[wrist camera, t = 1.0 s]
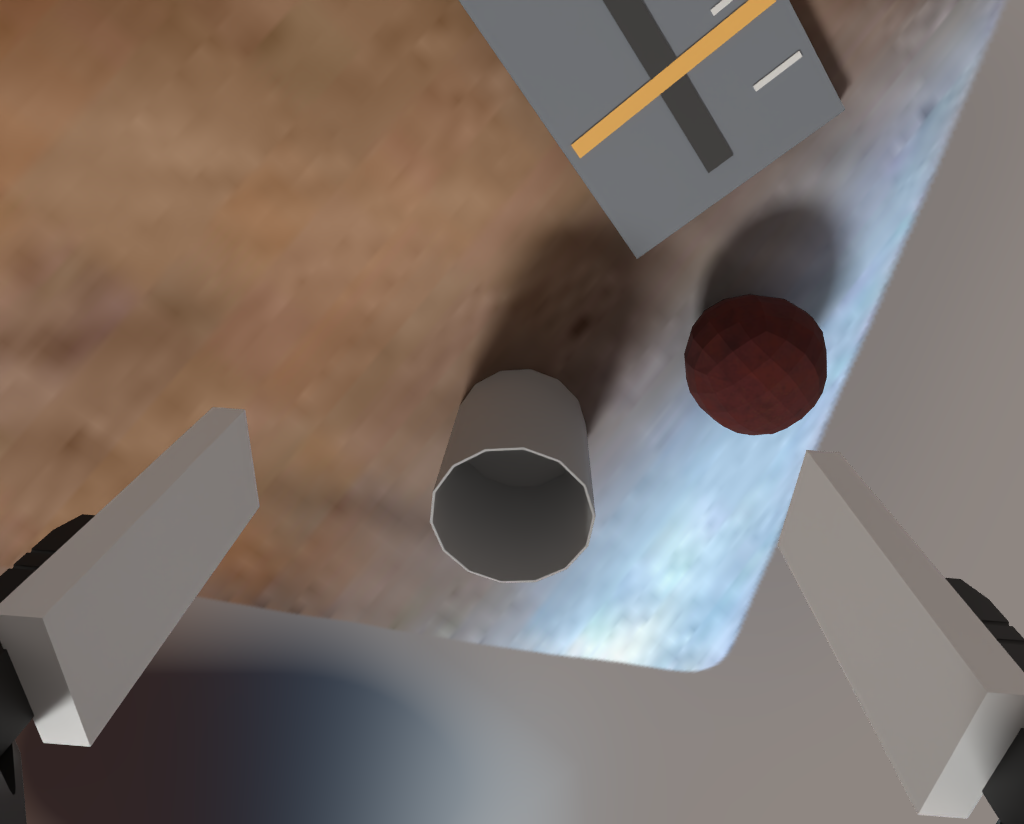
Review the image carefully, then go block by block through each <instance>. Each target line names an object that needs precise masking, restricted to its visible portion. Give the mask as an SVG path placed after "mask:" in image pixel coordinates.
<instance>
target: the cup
mask: <svg viewBox="0 0 1024 824" xmlns="http://www.w3.org/2000/svg"><path fill="white" fill-rule="evenodd" d="M594 520H595V507H594V498H593V488H592V478H591V469H590V459H589V450H588V440H587V431H586V424H585V421H584V417H583V414H582V411H581V407H580V404H579V401H578V399H577V398H576V397H575V396H574V395H573V394H572V393H571V392H570V391H569V390H568V389H567V388H566V387H565V386H564V385H563V384H562V383H561V382H560V381H559V380H558V379H555V378H553V377H550V376H547V375H545V374H542V373H539V372H537V371H534V370H532V369H524V370H507V371H499V372H497V373H496V374H494V375H492V376H490V377H488V378H486V379H484V380H482V381H480V382H479V383H477V384H475V385H474V387H473V388H472V389H471V391H470V392H469V394H468V395H467V397H466V398H465V399H464V401H463V402H462V404H461V405H460V407H459V410H458V413H457V416H456V420H455V423H454V426H453V429H452V432H451V436H450V439H449V442H448V445H447V448H446V452H445V455H444V458H443V461H442V464H441V468H440V471H439V474H438V477H437V481H436V484H435V487H434V490H433V497H432V507H431V517H430V523H431V525H432V528H433V530H434V532H435V534H436V537H437V539H438V541H439V543H440V546H441V548H442V550H443V551H444V552H445V553H446V554H447V555H449V556H450V557H451V558H452V559H453V560H455V561H456V562H457V563H458V564H459V565H460V566H462V567H463V568H464V569H465V570H466V571H468V572H470V573H473V574H476V575H479V576H482V577H485V578H488V579H491V580H494V581H497V582H499V583H518V582H537V581H539V580H542V579H544V578H547V577H549V576H551V575H554V574H556V573H559V572H561V571H563V570H566V569H567V568H568V567H569V566H570V565H571V564H572V563H573V562H574V561H575V560H576V559H577V557H578V556H579V555H580V554H581V553H582V552H583V551H584V550H585V549H586V548H587V547H588V545H589V541H590V536H591V532H592V528H593V524H594Z"/></svg>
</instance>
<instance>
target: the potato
mask: <svg viewBox="0 0 1024 824" xmlns="http://www.w3.org/2000/svg"><path fill="white" fill-rule="evenodd" d="M684 356H685V368H686V379H687V383H688V387H689V390H690V393H691V394H692V396H693V397H694V399H695V400H696V402H697V403H698V405H699V406H700V407H701V408H702V409H703V410H704V411H705V412H706V413H707V414H708V415H710V416H711V417H712V418H713V419H714V420H715V421H717V422H718V423H719V424H721V425H722V426H724V427H726V428H728V429H730V430H732V431H734V432H737V433H741V434H748V435H761V434H773V433H776V432H778V431H781V430H784V429H786V428H788V427H789V426H791V425H792V424H794V423H795V422H797V421H799V420H800V419H802V418H803V417H804V416H805V415H806V414H807V413H808V412H809V411H810V410H811V409H812V408H813V407H814V406H815V404H816V403H817V401H818V399H819V398H820V396H821V394H822V393H823V389H824V386H825V382H826V378H827V355H826V347H825V342H824V337H823V332H822V330H821V329H820V328H819V326H818V325H817V323H816V322H815V320H814V319H813V318H812V317H811V316H810V315H809V314H808V313H807V312H806V311H804V310H802V309H800V308H799V307H797V306H795V305H794V304H792V303H790V302H789V301H787V300H785V299H780V298H773V297H765V296H758V295H751V294H748V295H743V296H738V297H733V298H728V299H724V300H722V301H720V302H719V303H717V304H715V305H713V306H712V307H710V308H708V309H707V310H705V311H704V312H703V313H702V315H701V316H700V317H699V319H698V320H697V321H696V323H695V324H694V325H693V327H692V330H691V333H690V336H689V340H688V343H687V347H686V350H685V353H684Z"/></svg>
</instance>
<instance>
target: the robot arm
mask: <svg viewBox="0 0 1024 824" xmlns="http://www.w3.org/2000/svg"><path fill="white" fill-rule="evenodd" d="M258 508H259V500H258V493H257V486H256V480H255V473H254V466H253V459H252V453H251V446H250V439H249V433H248V426H247V419H246V413H245V410H244V409H231V408H217V407H212V408H211V409H210V410H209V411H208V412H207V413H206V414H205V415H204V416H203V417H202V418H201V419H199V420H198V421H197V422H196V423H195V424H194V425H193V426H192V427H191V428H190V429H189V430H188V431H186V432H185V433H184V434H183V435H182V436H181V437H180V438H179V439H178V440H177V441H176V442H175V443H173V444H172V445H171V446H170V447H169V448H168V449H167V450H166V451H165V452H164V453H163V454H162V455H160V456H159V457H158V458H157V459H156V460H155V461H154V462H153V463H152V464H151V465H150V466H149V467H147V468H146V469H145V470H144V471H143V472H142V473H141V474H140V475H139V476H138V477H137V478H135V479H134V480H133V481H132V482H131V483H130V484H129V485H128V486H127V487H126V488H125V489H124V490H122V491H121V492H120V493H119V494H118V495H117V496H116V497H115V498H114V499H113V500H112V501H111V502H109V503H108V504H107V505H106V506H105V507H104V508H103V509H102V510H101V511H100V512H99V513H98V514H96V515H83V514H82V515H80V516H79V517H77V518H75V519H73V520H71V521H69V522H67V523H65V524H63V525H62V526H60V527H58V528H56V529H54V530H53V531H51V532H50V533H49V534H48V535H47V536H46V537H45V538H43V539H42V540H41V541H40V542H39V543H38V544H37V545H35V546H34V547H33V548H32V551H31V553H26V554H25V555H24V556H23V557H22V558H20V559H19V560H18V561H17V562H16V563H15V564H14V567H13V569H8V570H7V571H6V572H5V573H3V574H2V575H1V576H0V824H27V823H26V811H25V799H24V787H23V777H22V764H21V753H20V751H19V749H18V746H17V744H16V742H15V739H16V737H17V736H18V735H19V734H20V733H21V731H22V730H23V729H24V728H25V727H26V725H27V724H28V723H29V722H30V721H31V719H32V718H33V720H34V722H35V725H36V727H37V729H38V732H39V734H40V736H41V739H42V741H43V743H53V744H65V745H77V746H89V747H90V746H91V745H92V744H93V742H94V741H95V739H96V738H97V736H98V735H99V733H100V732H101V731H102V729H103V728H104V726H105V725H106V724H107V722H108V721H109V719H110V718H111V717H112V715H113V714H114V712H115V711H116V709H117V708H118V706H119V705H120V704H121V702H122V701H123V700H124V698H125V696H126V695H127V694H128V692H129V691H130V690H131V688H132V687H133V685H134V684H135V682H136V681H137V680H138V678H139V677H140V675H141V674H142V672H143V671H144V670H145V668H146V667H147V665H148V664H149V663H150V661H151V660H152V658H153V657H154V656H155V654H156V653H157V651H158V650H159V648H160V647H161V645H162V644H163V643H164V641H165V640H166V638H167V637H168V636H169V634H170V632H171V631H172V630H173V628H174V627H175V626H176V624H177V623H178V621H179V620H180V619H181V617H182V616H183V614H184V613H185V611H186V610H187V609H188V607H189V606H190V604H191V603H192V602H193V600H194V599H195V597H196V596H197V594H198V593H199V592H200V590H201V589H202V587H203V586H204V585H205V583H206V582H207V580H208V579H209V577H210V576H211V575H212V573H213V572H214V570H215V569H216V567H217V566H218V565H219V563H220V562H221V560H222V559H223V558H224V556H225V555H226V553H227V552H228V550H229V549H230V548H231V546H232V545H233V543H234V542H235V541H236V539H237V538H238V536H239V535H240V533H241V532H242V531H243V529H244V528H245V526H246V525H247V523H248V522H249V521H250V519H251V518H252V516H253V515H254V514H255V512H256V511H257V509H258ZM778 547H779V549H780V551H781V553H782V555H783V557H784V559H785V561H786V562H787V565H788V566H789V568H790V570H791V572H792V574H793V576H794V578H795V580H796V582H797V584H798V586H799V588H800V589H801V591H802V593H803V595H804V597H805V599H806V601H807V603H808V605H809V607H810V609H811V611H812V612H813V614H814V616H815V618H816V620H817V622H818V624H819V626H820V628H821V630H822V632H823V634H824V635H825V637H826V639H827V641H828V643H829V645H830V647H831V649H832V651H833V653H834V655H835V657H836V659H837V660H838V662H839V664H840V666H841V668H842V670H843V672H844V674H845V676H846V678H847V680H848V682H849V683H850V685H851V687H852V689H853V691H854V693H855V695H856V697H857V699H858V701H859V703H860V705H861V707H862V708H863V710H864V712H865V714H866V716H867V718H868V720H869V722H870V724H871V726H872V728H873V730H874V731H875V733H876V735H877V737H878V739H879V741H880V743H881V745H882V746H883V749H884V751H885V752H886V754H887V756H888V758H889V760H890V762H891V764H892V766H893V768H894V770H895V772H896V773H897V776H898V777H899V779H900V781H901V783H902V785H903V787H904V789H905V791H906V793H907V794H908V797H909V799H910V800H911V802H912V804H913V806H914V808H915V810H916V812H917V814H918V815H928V816H940V817H953V818H965V819H967V818H968V817H969V815H970V814H971V812H972V811H973V809H974V807H975V806H976V804H977V803H978V801H979V800H980V798H981V796H982V795H983V794H984V796H985V797H986V799H987V800H988V802H989V804H990V805H991V807H992V808H993V810H994V811H995V813H996V815H997V816H998V818H999V820H998V821H997V823H996V824H1024V638H1023V637H1022V636H1021V635H1020V634H1019V633H1018V632H1017V631H1016V630H1015V628H1014V627H1013V626H1009V622H1008V620H1007V619H1006V618H1005V617H1004V616H1003V615H1002V614H1001V613H1000V611H999V610H998V609H997V608H996V607H995V606H994V605H993V604H992V602H991V601H990V600H989V599H988V598H986V597H985V596H983V595H982V594H981V593H979V592H978V591H976V590H975V589H973V588H972V587H971V586H969V585H968V584H967V583H965V582H964V581H962V580H961V579H952V578H944V576H943V575H942V574H941V573H940V572H939V570H938V569H937V568H936V567H935V566H934V565H933V563H932V562H931V561H930V560H929V558H928V557H927V556H926V555H925V554H924V552H923V551H922V550H921V549H920V548H919V546H918V545H917V544H916V543H915V542H914V540H913V539H912V538H911V537H910V536H909V535H908V533H907V532H906V531H905V530H904V529H903V527H902V526H901V525H900V524H899V523H898V521H897V520H896V519H895V518H894V517H893V515H892V514H891V513H890V512H889V511H888V509H887V508H886V507H885V506H884V505H883V504H882V503H881V501H880V500H879V499H878V497H877V496H876V495H875V494H874V493H873V492H872V490H871V489H870V488H869V487H868V486H867V484H866V483H865V482H864V481H863V479H862V478H861V477H860V476H859V475H858V474H857V472H856V471H855V470H854V469H853V468H852V467H851V465H850V464H849V463H848V462H847V461H846V459H845V458H844V457H843V456H842V455H841V453H839V452H826V451H812V450H806V454H805V457H804V460H803V464H802V467H801V470H800V473H799V477H798V480H797V483H796V486H795V490H794V493H793V496H792V499H791V503H790V506H789V509H788V512H787V516H786V519H785V522H784V525H783V529H782V532H781V535H780V538H779V542H778Z"/></svg>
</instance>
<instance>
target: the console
mask: <svg viewBox="0 0 1024 824" xmlns="http://www.w3.org/2000/svg"><path fill="white" fill-rule="evenodd" d="M459 1H460V3H461V4H462V6H463V7H464V9H465V10H466V11H467V13H468V14H469V16H470V17H471V19H472V20H473V22H474V23H475V25H476V26H477V27H478V29H479V30H480V32H481V33H482V35H483V36H484V38H485V39H486V40H487V42H488V43H489V45H490V46H491V48H492V49H493V51H494V52H495V54H496V55H497V56H498V58H499V59H500V61H501V62H502V64H503V65H504V67H505V68H506V70H507V71H508V72H509V74H510V75H511V77H512V78H513V80H514V81H515V83H516V84H517V85H518V87H519V88H520V90H521V91H522V93H523V94H524V96H525V97H526V99H527V100H528V101H529V103H530V104H531V106H532V107H533V109H534V110H535V112H536V113H537V114H538V116H539V117H540V119H541V120H542V122H543V123H544V125H545V126H546V128H547V129H548V130H549V132H550V133H551V135H552V136H553V138H554V139H555V141H556V142H557V144H558V145H559V146H560V148H561V149H562V151H563V152H564V154H565V155H566V157H567V158H568V159H569V161H570V162H571V164H572V165H573V167H574V168H575V170H576V171H577V173H578V174H579V175H580V177H581V178H582V180H583V181H584V183H585V184H586V186H587V187H588V188H589V190H590V191H591V193H592V194H593V196H594V197H595V199H596V200H597V202H598V203H599V204H600V206H601V207H602V209H603V210H604V212H605V213H606V215H607V216H608V217H609V219H610V220H611V222H612V223H613V225H614V226H615V228H616V229H617V231H618V232H619V233H620V235H621V236H622V238H623V239H624V241H625V242H626V244H627V245H628V247H629V248H630V249H631V251H632V252H633V254H634V255H635V257H636V258H637V259H638V258H639V257H641V256H642V255H643V254H645V253H646V252H648V251H649V250H650V249H652V248H653V247H655V246H656V245H657V244H659V243H660V242H662V241H663V240H664V239H666V238H667V237H668V236H670V235H671V234H673V233H674V232H675V231H677V230H678V229H680V228H681V227H682V226H684V225H685V224H687V223H688V222H689V221H691V220H692V219H694V218H695V217H696V216H698V215H699V214H701V213H702V212H703V211H705V210H706V209H707V208H709V207H710V206H712V205H713V204H714V203H716V202H717V201H719V200H720V199H721V198H723V197H724V196H726V195H727V194H728V193H730V192H731V191H733V190H734V189H735V188H737V187H738V186H740V185H741V184H742V183H744V182H745V181H747V180H748V179H749V178H751V177H752V176H753V175H755V174H756V173H758V172H759V171H760V170H762V169H763V168H765V167H766V166H767V165H769V164H770V163H772V162H773V161H774V160H776V159H777V158H779V157H780V156H781V155H783V154H784V153H786V152H787V151H788V150H790V149H791V148H792V147H794V146H795V145H797V144H798V143H799V142H801V141H802V140H804V139H805V138H806V137H808V136H809V135H811V134H812V133H813V132H815V131H816V130H818V129H819V128H820V127H822V126H823V125H825V124H826V123H827V122H829V121H830V120H832V119H833V118H834V117H836V116H837V115H838V114H840V113H841V112H843V111H844V110H845V108H844V106H843V105H842V103H841V101H840V99H839V97H838V95H837V93H836V91H835V89H834V87H833V85H832V83H831V81H830V79H829V77H828V75H827V73H826V71H825V69H824V67H823V66H822V64H821V62H820V60H819V58H818V56H817V54H816V52H815V50H814V48H813V46H812V44H811V42H810V40H809V38H808V36H807V34H806V32H805V30H804V28H803V27H802V25H801V23H800V21H799V19H798V17H797V15H796V13H795V11H794V9H793V7H792V5H791V3H790V1H789V0H459Z"/></svg>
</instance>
